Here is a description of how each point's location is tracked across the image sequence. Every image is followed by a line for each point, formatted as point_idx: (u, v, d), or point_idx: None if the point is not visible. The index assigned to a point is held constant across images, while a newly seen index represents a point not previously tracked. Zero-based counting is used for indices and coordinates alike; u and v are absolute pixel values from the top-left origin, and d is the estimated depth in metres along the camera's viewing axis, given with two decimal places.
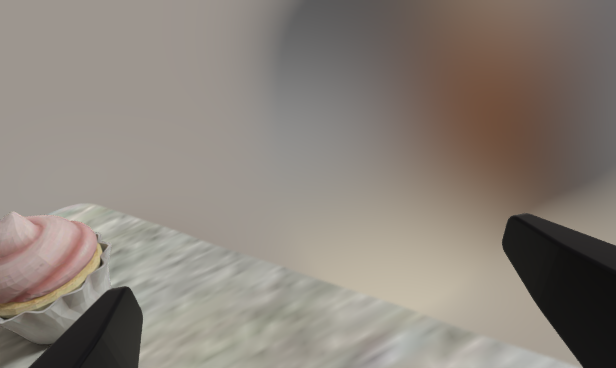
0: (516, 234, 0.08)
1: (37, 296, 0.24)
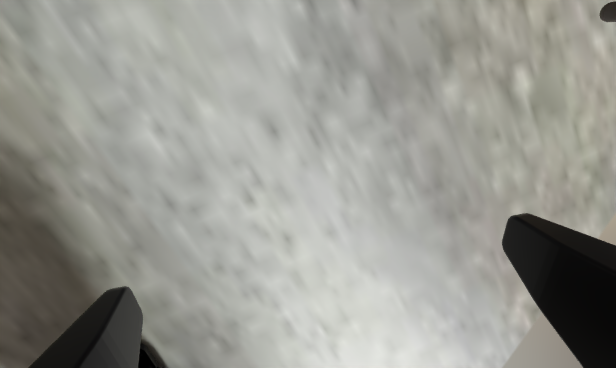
0: (516, 234, 0.08)
1: None
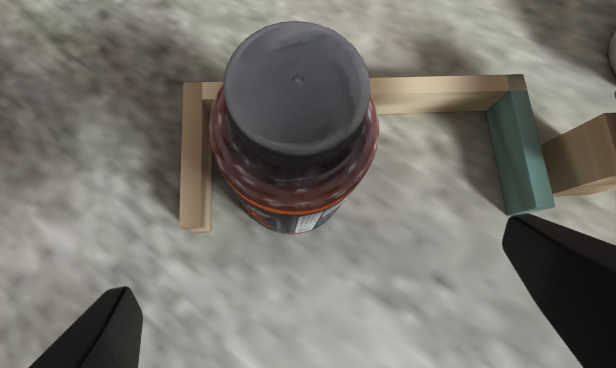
0: (516, 234, 0.08)
1: None
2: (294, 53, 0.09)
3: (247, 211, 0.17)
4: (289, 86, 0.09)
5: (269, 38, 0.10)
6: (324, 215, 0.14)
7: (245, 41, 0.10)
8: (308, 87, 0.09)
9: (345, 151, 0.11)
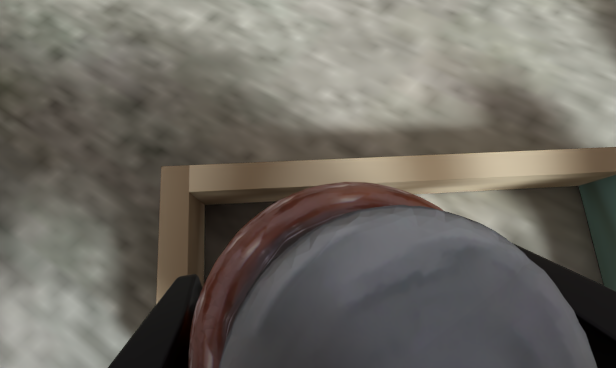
0: None
1: None
2: (403, 311, 0.04)
3: None
4: None
5: (335, 267, 0.04)
6: None
7: (272, 275, 0.04)
8: None
9: None
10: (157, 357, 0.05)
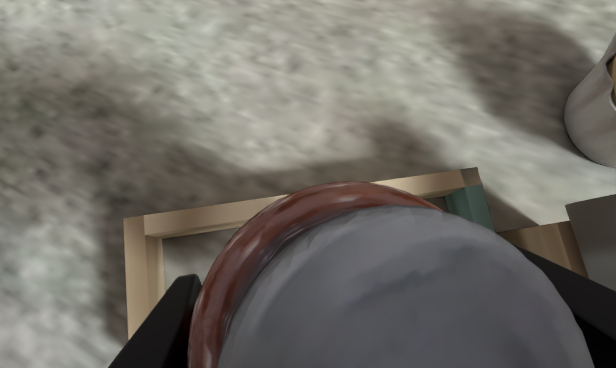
0: None
1: None
2: (401, 310, 0.04)
3: None
4: None
5: (333, 267, 0.04)
6: None
7: (270, 274, 0.04)
8: None
9: None
10: (157, 357, 0.05)
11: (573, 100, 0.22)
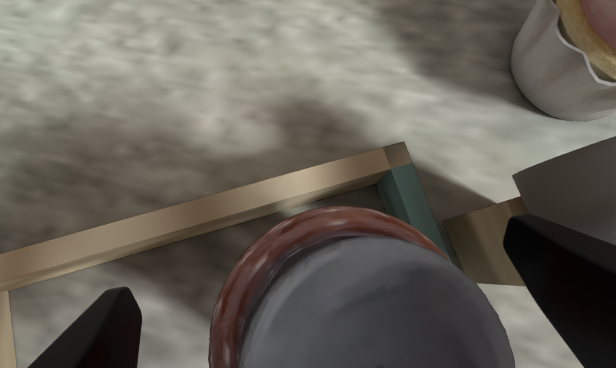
0: (517, 234, 0.08)
1: None
2: (372, 315, 0.05)
3: None
4: None
5: (323, 284, 0.05)
6: None
7: (277, 289, 0.05)
8: None
9: None
10: None
11: (518, 45, 0.18)
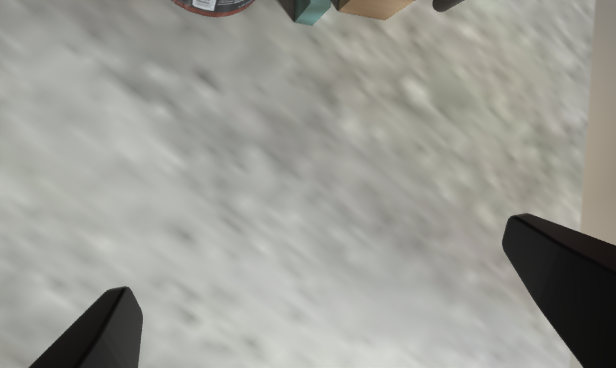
0: (516, 234, 0.08)
1: None
2: None
3: None
4: None
5: None
6: None
7: None
8: None
9: None
10: None
11: None
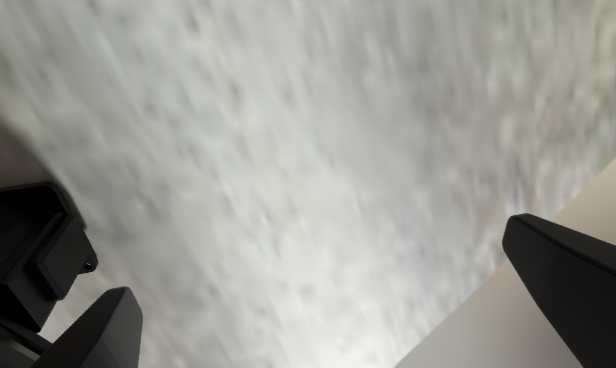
0: (516, 234, 0.08)
1: None
2: None
3: None
4: None
5: None
6: None
7: None
8: None
9: None
10: None
11: None
